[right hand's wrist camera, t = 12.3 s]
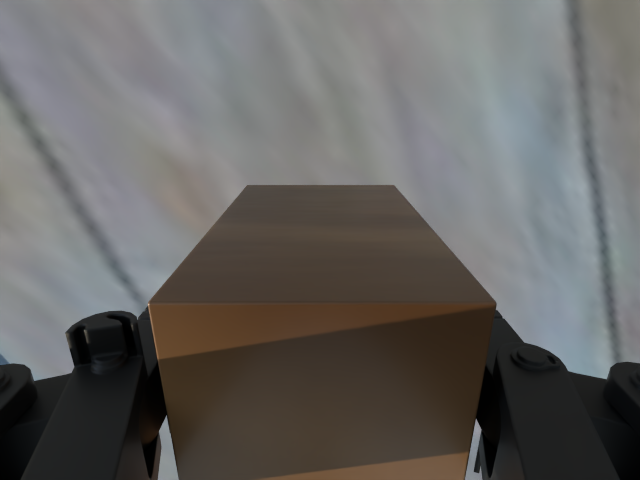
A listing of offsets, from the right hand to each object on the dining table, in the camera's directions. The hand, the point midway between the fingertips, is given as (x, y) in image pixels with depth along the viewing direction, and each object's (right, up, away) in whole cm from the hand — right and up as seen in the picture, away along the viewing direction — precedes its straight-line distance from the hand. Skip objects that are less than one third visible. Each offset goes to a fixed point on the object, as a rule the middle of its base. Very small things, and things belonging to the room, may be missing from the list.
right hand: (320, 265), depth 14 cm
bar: (0, -8, +4) cm, 8 cm away
